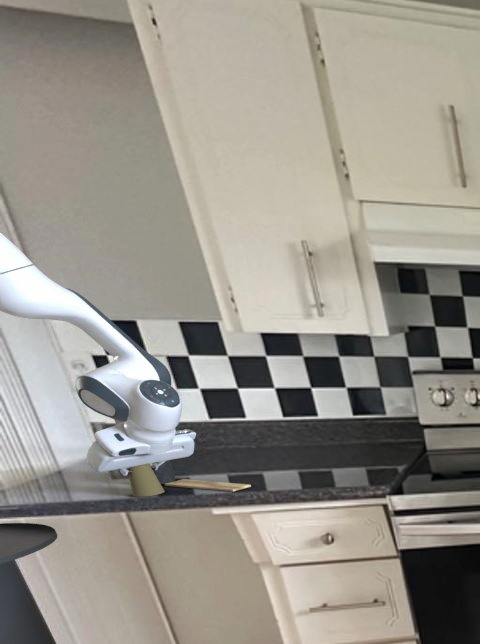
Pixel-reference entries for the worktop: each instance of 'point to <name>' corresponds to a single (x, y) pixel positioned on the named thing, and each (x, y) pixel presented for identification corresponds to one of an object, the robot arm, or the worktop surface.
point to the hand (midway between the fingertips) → (138, 470)
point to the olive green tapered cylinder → (144, 481)
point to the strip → (208, 485)
